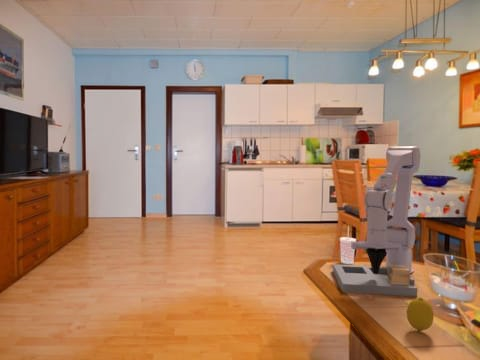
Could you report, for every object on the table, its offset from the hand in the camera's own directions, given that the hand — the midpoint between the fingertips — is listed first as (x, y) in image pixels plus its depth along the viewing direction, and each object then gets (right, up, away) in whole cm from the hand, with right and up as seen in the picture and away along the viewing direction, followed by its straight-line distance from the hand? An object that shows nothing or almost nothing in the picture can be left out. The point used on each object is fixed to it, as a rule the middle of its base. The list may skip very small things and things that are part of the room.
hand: (375, 272), depth 112 cm
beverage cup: (-1, -3, +27) cm, 27 cm away
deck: (0, -4, +4) cm, 6 cm away
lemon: (0, -7, -28) cm, 29 cm away
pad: (+7, -2, -1) cm, 7 cm away
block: (+7, -2, -1) cm, 7 cm away
